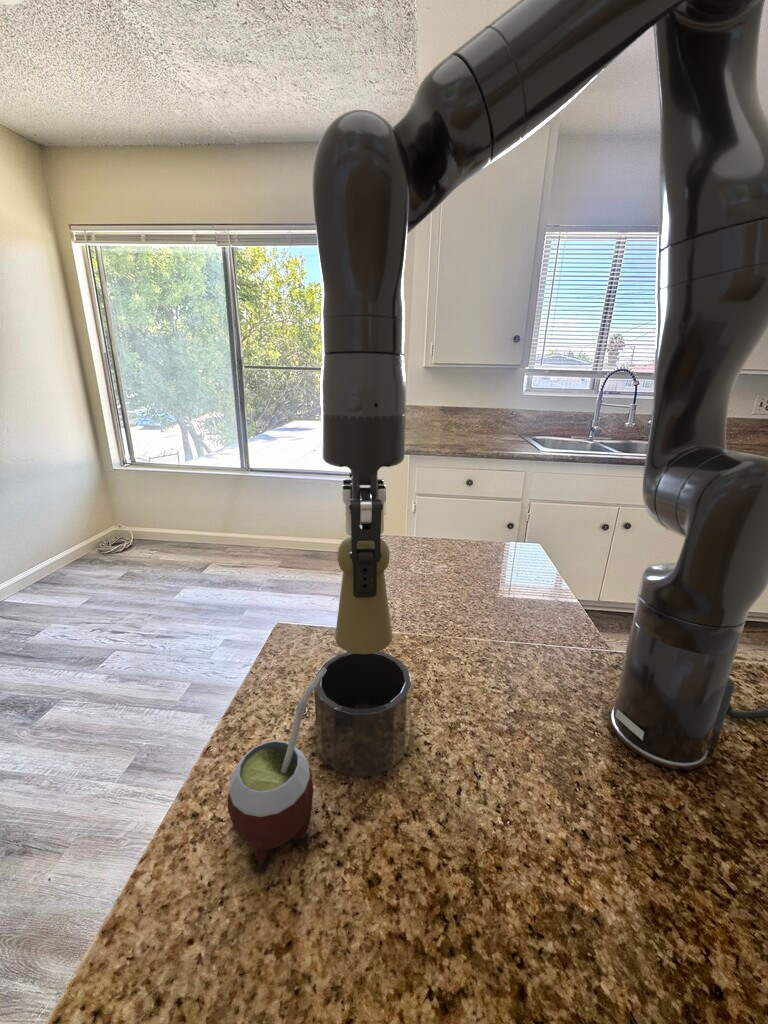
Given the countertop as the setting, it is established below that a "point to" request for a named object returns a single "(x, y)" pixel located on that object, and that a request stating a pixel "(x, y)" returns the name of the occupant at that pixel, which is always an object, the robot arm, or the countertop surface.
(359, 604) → the beige pawn figure
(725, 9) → the robot arm
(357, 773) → the mug
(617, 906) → the countertop surface
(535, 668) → the countertop surface
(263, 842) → the mate gourd
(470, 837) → the countertop surface
